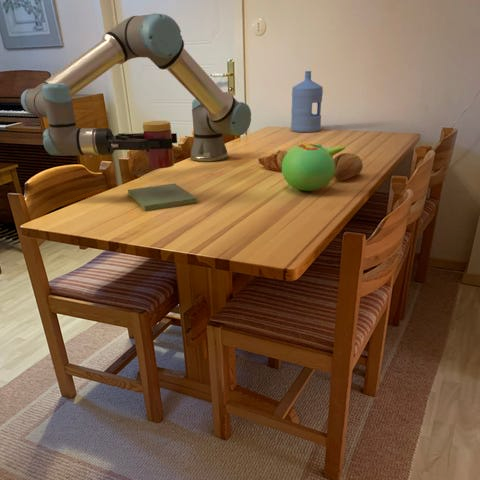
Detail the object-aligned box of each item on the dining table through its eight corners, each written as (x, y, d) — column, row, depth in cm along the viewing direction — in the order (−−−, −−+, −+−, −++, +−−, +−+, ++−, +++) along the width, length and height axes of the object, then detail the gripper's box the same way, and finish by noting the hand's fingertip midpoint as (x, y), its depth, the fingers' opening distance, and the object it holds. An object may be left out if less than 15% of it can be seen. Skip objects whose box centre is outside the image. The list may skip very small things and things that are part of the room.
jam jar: (144, 164, 148) (139, 124, 142) (169, 161, 151) (165, 122, 145) (151, 169, 141) (147, 128, 136) (177, 166, 144) (174, 125, 139)
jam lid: (140, 128, 143) (139, 122, 142) (165, 126, 145) (165, 120, 145) (147, 132, 136) (147, 125, 136) (174, 130, 139) (173, 123, 138)
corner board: (128, 194, 156) (127, 189, 155) (175, 187, 162) (174, 183, 161) (145, 211, 140) (144, 205, 139) (197, 202, 146) (196, 198, 145)
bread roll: (324, 181, 165) (325, 156, 161) (340, 171, 176) (341, 148, 172) (351, 184, 161) (353, 159, 157) (365, 174, 172) (368, 151, 168)
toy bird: (272, 186, 161) (273, 139, 153) (316, 180, 166) (319, 134, 159) (299, 199, 146) (301, 149, 139) (346, 192, 152) (350, 143, 144)
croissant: (312, 179, 180) (317, 158, 180) (305, 171, 171) (310, 149, 171) (261, 173, 189) (265, 152, 188) (251, 165, 180) (255, 144, 179)
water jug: (289, 132, 252) (291, 72, 238) (292, 128, 265) (293, 70, 251) (320, 132, 250) (323, 71, 236) (320, 128, 263) (324, 70, 249)
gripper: (109, 148, 154) (180, 147, 153) (89, 162, 136) (169, 161, 135) (106, 123, 151) (178, 122, 149) (84, 134, 132) (167, 133, 131)
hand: (174, 140), depth 142 cm, fingers closed on jam jar, 8 cm apart
